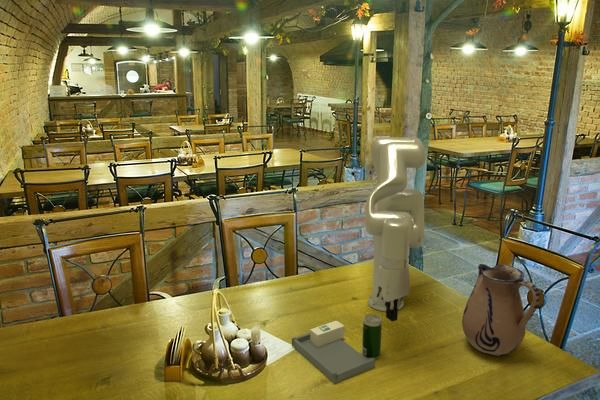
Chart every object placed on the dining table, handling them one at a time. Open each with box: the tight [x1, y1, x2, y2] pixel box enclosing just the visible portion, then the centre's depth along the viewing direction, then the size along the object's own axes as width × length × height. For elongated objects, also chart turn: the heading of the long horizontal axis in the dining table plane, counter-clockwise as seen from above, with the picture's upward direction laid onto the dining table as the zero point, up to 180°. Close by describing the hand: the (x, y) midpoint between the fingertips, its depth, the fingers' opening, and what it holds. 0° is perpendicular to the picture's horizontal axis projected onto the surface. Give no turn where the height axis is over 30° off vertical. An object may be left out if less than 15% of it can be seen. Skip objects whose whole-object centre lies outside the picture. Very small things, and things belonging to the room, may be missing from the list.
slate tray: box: [291, 332, 376, 384], centre depth 143 cm, size 14×22×2 cm, turn 32°
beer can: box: [361, 313, 383, 360], centre depth 142 cm, size 5×5×12 cm
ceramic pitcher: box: [461, 263, 541, 357], centre depth 143 cm, size 18×21×25 cm
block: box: [309, 320, 345, 347], centre depth 150 cm, size 4×4×10 cm
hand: (391, 318), depth 145 cm, fingers closed
